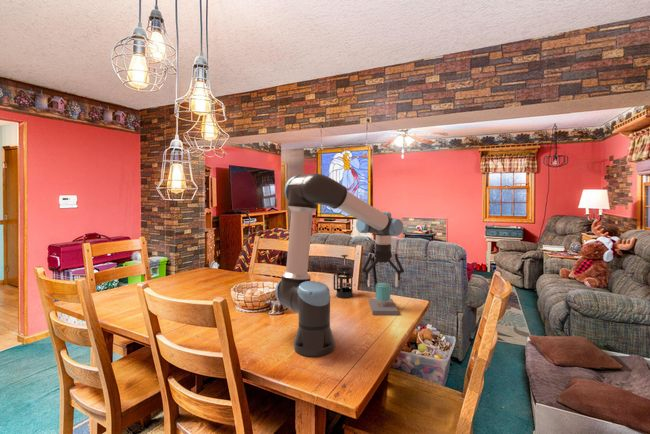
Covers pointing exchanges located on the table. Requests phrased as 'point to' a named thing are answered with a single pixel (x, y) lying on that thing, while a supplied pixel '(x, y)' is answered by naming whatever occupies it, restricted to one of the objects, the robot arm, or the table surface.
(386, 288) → the teal cylinder
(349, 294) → the french press
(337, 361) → the table surface
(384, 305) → the post base
